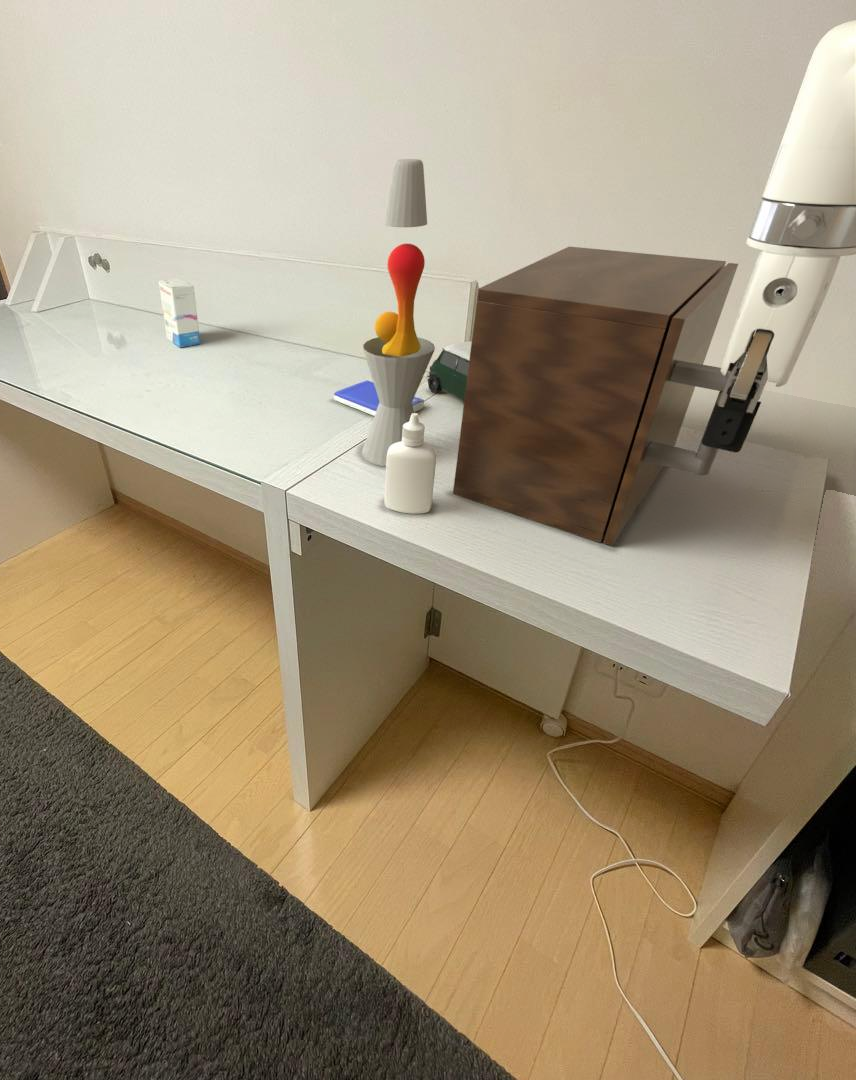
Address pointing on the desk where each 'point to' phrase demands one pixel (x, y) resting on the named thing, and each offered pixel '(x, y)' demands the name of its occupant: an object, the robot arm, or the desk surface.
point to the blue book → (366, 398)
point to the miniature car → (451, 370)
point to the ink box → (179, 312)
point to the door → (674, 400)
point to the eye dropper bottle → (410, 471)
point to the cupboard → (566, 380)
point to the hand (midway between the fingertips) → (723, 441)
